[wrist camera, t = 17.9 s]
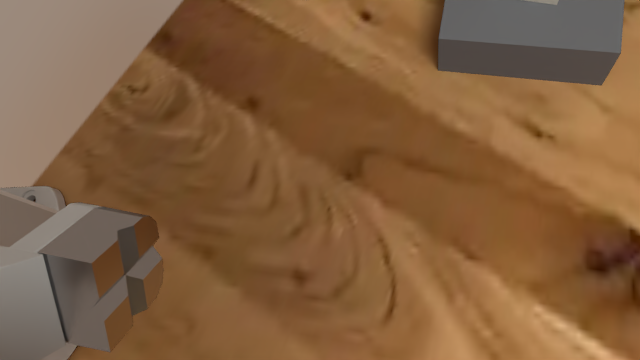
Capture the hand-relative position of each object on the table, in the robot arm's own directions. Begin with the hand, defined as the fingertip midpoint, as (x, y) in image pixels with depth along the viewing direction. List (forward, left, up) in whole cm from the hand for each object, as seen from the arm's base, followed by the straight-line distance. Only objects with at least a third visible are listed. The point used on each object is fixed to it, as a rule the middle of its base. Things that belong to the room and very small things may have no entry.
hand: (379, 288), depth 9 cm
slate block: (+4, +27, -32) cm, 42 cm away
